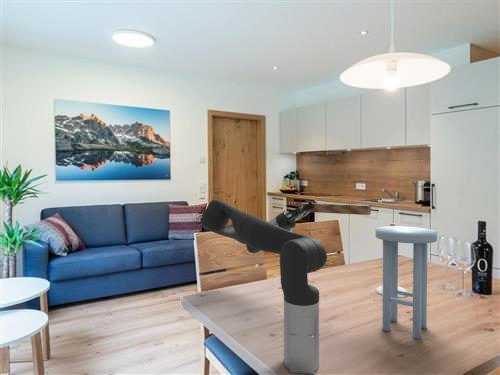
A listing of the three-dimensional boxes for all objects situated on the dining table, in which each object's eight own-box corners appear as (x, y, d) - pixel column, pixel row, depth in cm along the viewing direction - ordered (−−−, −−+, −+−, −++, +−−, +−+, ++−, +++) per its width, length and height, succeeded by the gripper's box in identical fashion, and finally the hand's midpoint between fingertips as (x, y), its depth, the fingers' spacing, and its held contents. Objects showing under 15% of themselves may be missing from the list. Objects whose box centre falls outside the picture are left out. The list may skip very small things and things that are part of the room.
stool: (440, 325, 113) (441, 229, 112) (430, 347, 99) (431, 237, 98) (383, 312, 124) (384, 224, 123) (367, 330, 109) (368, 231, 108)
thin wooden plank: (370, 214, 119) (370, 205, 119) (367, 215, 116) (367, 205, 116) (303, 210, 135) (303, 202, 134) (299, 211, 132) (299, 203, 132)
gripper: (294, 229, 144) (327, 211, 134) (276, 234, 132) (311, 214, 123) (286, 214, 146) (318, 194, 137) (268, 217, 134) (301, 196, 125)
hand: (314, 203), depth 130 cm, fingers closed on thin wooden plank, 3 cm apart
